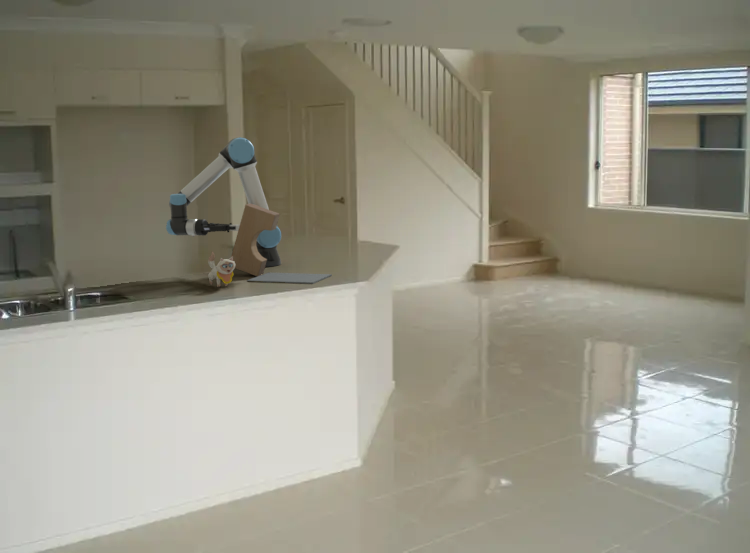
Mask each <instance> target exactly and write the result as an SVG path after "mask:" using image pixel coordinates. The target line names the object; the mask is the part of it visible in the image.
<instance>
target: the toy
mask: <svg viewBox="0 0 750 553" xmlns="http://www.w3.org/2000/svg"><path fill="white" fill-rule="evenodd" d="M231 256H232V255H231ZM231 256H230V257H229V258H224V259H223V258H222V257H220V260H219V262H218V263H217V265H216V264H215V258H216V256H215V253H214V251H211V255H210V256H209V257H208V260H207V263H208V266H209V267H210V268H211V270H210V271H209V273H208V274H207V276H208V279H209V280H208V281H209V285H210V286H212V285H213V284H214V282H213V281H214V280H216V287H217V288H221V287H222V286H221V284H222V283H221V281H222V282H223V283H224V287H225V286H227V287H228V286H229V284H231V283H232V281H233V277H234V271H235V269H236V268H235V261H233V256H232V257H231Z"/></svg>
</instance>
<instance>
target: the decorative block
mask: <svg viewBox="0 0 750 553" xmlns="http://www.w3.org/2000/svg"><path fill="white" fill-rule="evenodd" d="M242 212H243V213H242V216H241V219H240V223H239V225H240V226H239V230H238V231H237V234H236V237H235V241H234V245H233V250H232V251H231V252H232V253H231V256H230V258H231V257H232V256H233V261H235V268H234V269H236V270H239V271H240V272H241V271H242V272H244V273H246V274H250V275H253V276H255V277H258V276H260V275H261V274H264V272H265V269H266V267H265V265H266V262H267V259H266V258H264V257H262V256H261V255H260V253H259V252H258V250H257V246H256V242H257V238H258V236H259V234H260V233H261V232H262V231H263V230H270V231H272V230H275V229H276V226H277V225H278V222H279V219H280V215H281V213H279V212H276V211H273V210H271V209H269V210H268V209H265V208H262V207H259V206H257V205H254V204H251V203H250V204H248V203H246V204H245V205H244V209H243V211H242Z"/></svg>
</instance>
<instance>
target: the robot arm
mask: <svg viewBox="0 0 750 553" xmlns="http://www.w3.org/2000/svg"><path fill="white" fill-rule="evenodd" d="M256 157H257V156H256V155H255V147H254V145H253V143H252V142H251V140H249V139H247V138H246V137H235V138H232V139H231V140H230V141H229V142H228V143H227V144H226V145H225V146H224V147H223V148H222V150H221V151H220V152H219V153H218V156H217V157H216V158H215V159H214V160H212V162H210V163H209V164H208V165H207V166H206V167H205V168H204V169H203V170H202V171H200V173H199V174H197V175H196V176H195V177H194V178H192V180H191V181H189V183H187V184H186V185H185V186H184V187H183V188H182V189H180V191H179V192H177V193H172V194H170V195H169V204H168V206H169V208H170V219H168V220H167V221H166V226H165V229H166V231H167V233H168V234H169V235H171V236H192V237H195V236H203V237H204V236H206V235H208V233H213V232H214V233H215V232H226V231H227V233H230V232H238V230H239V226H240V224H233V223H232V222H230V223H214V222H210V223H209V222H208V220H206V219H205V218H204V219H203V218H202V219H201V218H200V219H199V218H198V219H197V218H195V219H194V218H192V219H191V218H189V219H188V208H187V207H188V206H189V205H190V204H192V202H193V201H194V200H196V198H198V197H199V196H200V195H201V194H202V193H203V192H204V191H206V190H207V189H208V188H209V187H210V186H211V185H212V184H213V183H215V181H217V180H218V179H219V178H220V177H221V176H222V175H223V174H224V173H226V172H227V171H228V170H229V169H233V170H234V171H236V172H237V174H238V176H239V179H240V182H241V186H242V188H243V192H244V194H245V197H246V200H247V204H250V203H251V204H254V205H257V206H259V207H262V208H265V209H268V210H270V208H269V205H268V201H267V199H266V196H265V193H264V190H263V187H262V184H261V181H260V177H259V173H258V171H257V168H256V166H257V164H258V161H257V160H258V159H257V158H256ZM281 240H282V231H281V229H280V228H279V225H278V224H277V226H276V229H275V230H272V231H270V230H263V231H262V232H261V233H260V234H259V236H258V238H257V242H256V246H257V250H258V252H259V253H260V255H261V256H262V257H264V258H266V259H267V262H266V265H265V268H266V267H268V268H269V267H276V266H280V265H282V260H281V256H280V254H279V251H278V246H277V245H279V244H280V242H281Z"/></svg>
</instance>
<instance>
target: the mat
mask: <svg viewBox="0 0 750 553" xmlns="http://www.w3.org/2000/svg"><path fill="white" fill-rule="evenodd" d="M332 276H333V275H332V274H331V273H297V272H296V273H295V272H293V273H292V272H291V273H290V272H267V273H263V275H260V276H255V277H252V278H249V279H247V280H246V282H247V281H263V282H262V283H272V282H285V283H284V284H304V285H305V284H308V285H309V284H310V285H313V284H316V283H318V282H320V281H323V280H325V279H328V278H330V277H332Z"/></svg>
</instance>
